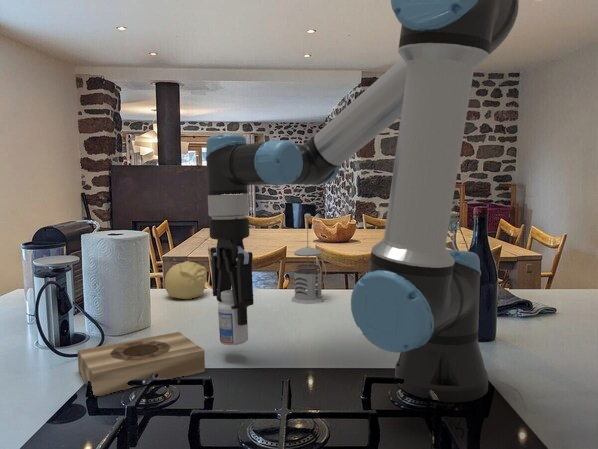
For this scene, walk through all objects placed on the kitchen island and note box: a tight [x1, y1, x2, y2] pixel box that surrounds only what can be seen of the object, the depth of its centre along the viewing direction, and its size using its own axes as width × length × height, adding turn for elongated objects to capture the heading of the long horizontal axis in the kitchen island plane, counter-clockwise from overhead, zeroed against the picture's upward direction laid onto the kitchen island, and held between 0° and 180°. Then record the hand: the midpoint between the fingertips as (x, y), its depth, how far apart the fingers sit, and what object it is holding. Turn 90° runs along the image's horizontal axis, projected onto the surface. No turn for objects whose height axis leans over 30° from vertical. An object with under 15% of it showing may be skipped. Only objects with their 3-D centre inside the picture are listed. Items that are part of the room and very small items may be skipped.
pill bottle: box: [217, 289, 247, 346], centre depth 95 cm, size 6×5×10 cm
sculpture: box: [164, 260, 208, 300], centre depth 145 cm, size 12×12×11 cm
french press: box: [291, 213, 327, 305], centre depth 140 cm, size 10×12×25 cm
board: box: [77, 331, 206, 397], centre depth 89 cm, size 13×19×4 cm
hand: (233, 337), depth 95 cm, fingers closed on pill bottle, 5 cm apart
